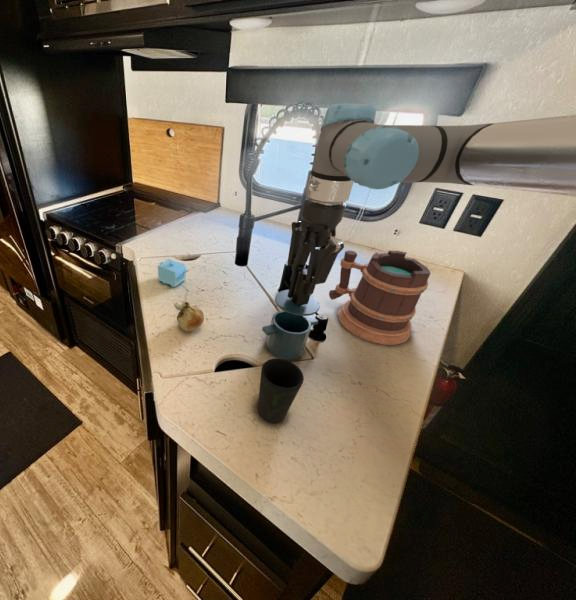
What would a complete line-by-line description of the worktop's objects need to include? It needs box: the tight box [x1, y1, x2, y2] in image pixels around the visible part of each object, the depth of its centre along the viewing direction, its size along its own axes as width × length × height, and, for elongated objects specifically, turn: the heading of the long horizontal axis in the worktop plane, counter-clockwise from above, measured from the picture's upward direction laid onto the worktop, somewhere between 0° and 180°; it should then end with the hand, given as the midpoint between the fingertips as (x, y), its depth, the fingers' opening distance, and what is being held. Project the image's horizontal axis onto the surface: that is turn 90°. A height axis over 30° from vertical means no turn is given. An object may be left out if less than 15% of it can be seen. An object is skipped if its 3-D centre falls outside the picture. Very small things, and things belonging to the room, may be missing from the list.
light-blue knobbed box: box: [157, 259, 190, 288], centre depth 105 cm, size 12×6×8 cm, turn 54°
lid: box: [274, 268, 321, 317], centre depth 71 cm, size 10×10×9 cm
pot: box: [261, 310, 319, 361], centre depth 79 cm, size 9×15×8 cm, turn 108°
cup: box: [257, 357, 305, 424], centre depth 62 cm, size 8×8×12 cm
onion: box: [173, 301, 205, 332], centre depth 85 cm, size 8×8×8 cm
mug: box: [328, 250, 431, 346], centre depth 85 cm, size 18×23×20 cm
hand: (297, 299), depth 73 cm, fingers closed on lid, 3 cm apart
